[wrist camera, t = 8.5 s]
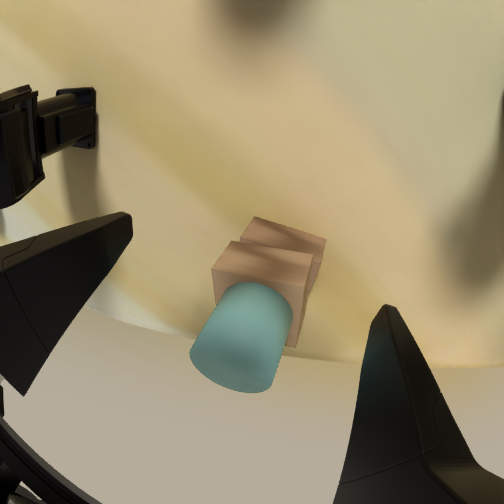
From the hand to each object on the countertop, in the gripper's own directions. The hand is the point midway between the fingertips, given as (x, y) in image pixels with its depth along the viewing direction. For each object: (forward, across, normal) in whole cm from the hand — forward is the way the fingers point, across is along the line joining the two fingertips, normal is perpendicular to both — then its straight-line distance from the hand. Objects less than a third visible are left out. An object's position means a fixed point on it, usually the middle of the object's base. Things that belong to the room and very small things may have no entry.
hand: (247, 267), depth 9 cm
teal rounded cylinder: (+6, 0, +9) cm, 11 cm away
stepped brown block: (+10, 0, +9) cm, 13 cm away
